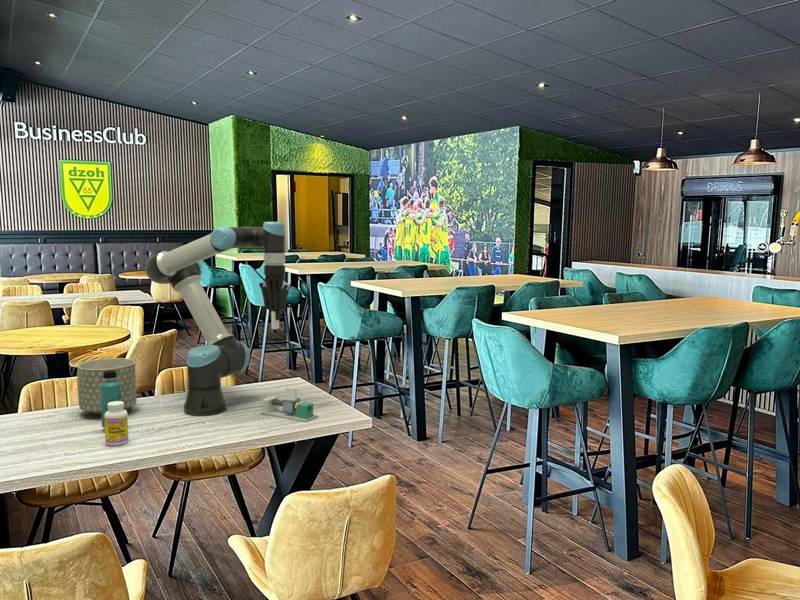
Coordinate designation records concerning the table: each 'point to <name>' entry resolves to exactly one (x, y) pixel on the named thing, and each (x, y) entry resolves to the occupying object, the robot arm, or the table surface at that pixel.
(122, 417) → the supplement bottle
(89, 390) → the planter
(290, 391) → the pale blue hollow box
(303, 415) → the slider rail
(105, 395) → the beverage bottle
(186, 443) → the table surface
